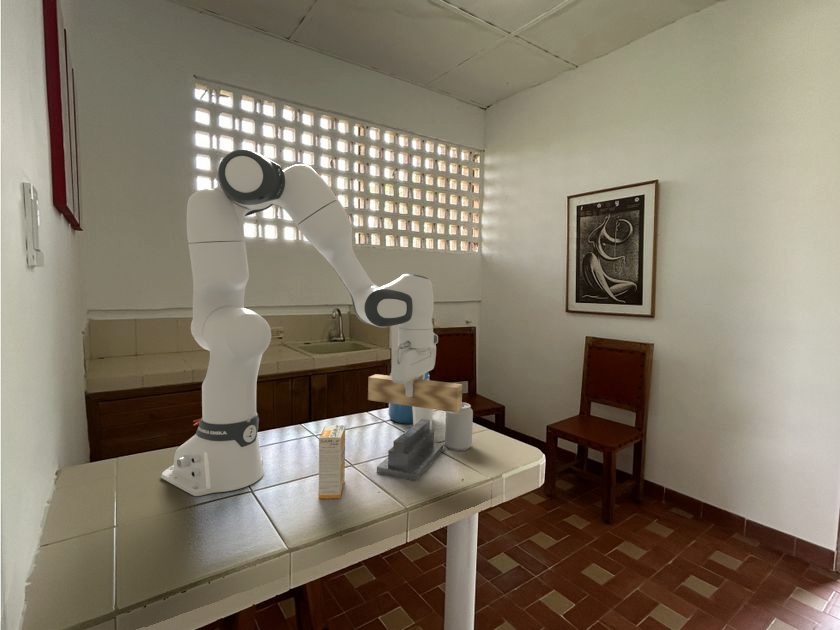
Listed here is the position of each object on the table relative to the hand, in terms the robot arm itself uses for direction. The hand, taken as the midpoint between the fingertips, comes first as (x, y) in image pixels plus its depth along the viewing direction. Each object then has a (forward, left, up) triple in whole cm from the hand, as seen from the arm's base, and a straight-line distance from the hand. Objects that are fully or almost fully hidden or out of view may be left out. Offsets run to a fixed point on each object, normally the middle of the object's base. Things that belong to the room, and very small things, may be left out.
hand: (414, 393), depth 104 cm
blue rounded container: (-14, +30, -18) cm, 37 cm away
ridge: (0, 0, -17) cm, 17 cm away
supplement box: (-10, -21, -18) cm, 29 cm away
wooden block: (0, 0, -3) cm, 3 cm away
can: (+8, +14, -18) cm, 24 cm away
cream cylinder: (-4, +17, -18) cm, 25 cm away
